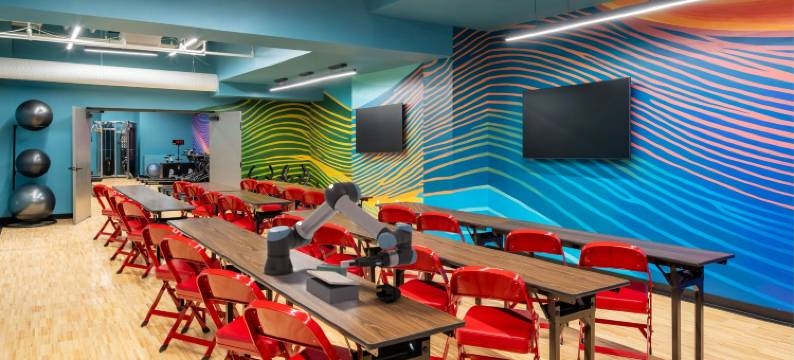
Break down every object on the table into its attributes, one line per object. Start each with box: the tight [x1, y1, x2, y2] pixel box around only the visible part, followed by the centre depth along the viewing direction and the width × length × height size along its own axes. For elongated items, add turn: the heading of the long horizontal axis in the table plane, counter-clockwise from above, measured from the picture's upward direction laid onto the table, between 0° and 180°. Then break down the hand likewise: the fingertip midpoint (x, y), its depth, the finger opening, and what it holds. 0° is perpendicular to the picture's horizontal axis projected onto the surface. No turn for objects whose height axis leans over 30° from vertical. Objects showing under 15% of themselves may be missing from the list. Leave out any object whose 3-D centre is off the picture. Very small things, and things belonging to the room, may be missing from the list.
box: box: [315, 263, 348, 277], centre depth 248 cm, size 7×14×8 cm, turn 71°
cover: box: [306, 269, 360, 286], centre depth 223 cm, size 24×14×1 cm, turn 34°
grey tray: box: [305, 275, 360, 305], centre depth 223 cm, size 24×14×6 cm, turn 34°
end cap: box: [375, 282, 402, 305], centre depth 216 cm, size 10×7×7 cm
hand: (341, 264), depth 222 cm, fingers closed
